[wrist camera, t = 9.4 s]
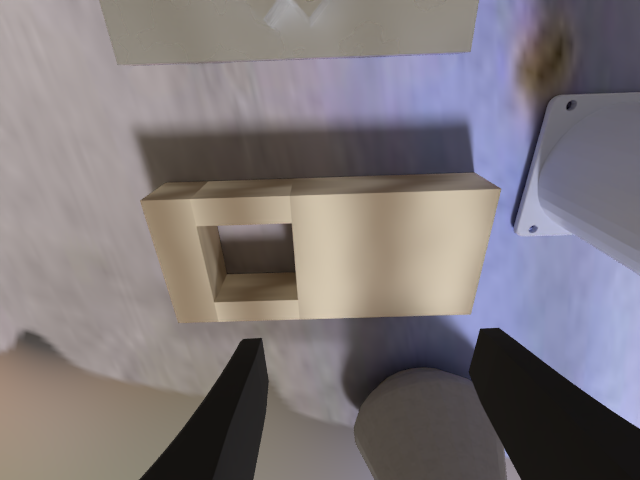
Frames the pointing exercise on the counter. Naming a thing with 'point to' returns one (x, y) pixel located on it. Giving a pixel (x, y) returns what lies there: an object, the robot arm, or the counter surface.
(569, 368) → the counter surface
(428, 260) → the beam
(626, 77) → the counter surface
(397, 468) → the coffee pot
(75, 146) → the counter surface
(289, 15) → the v-block
